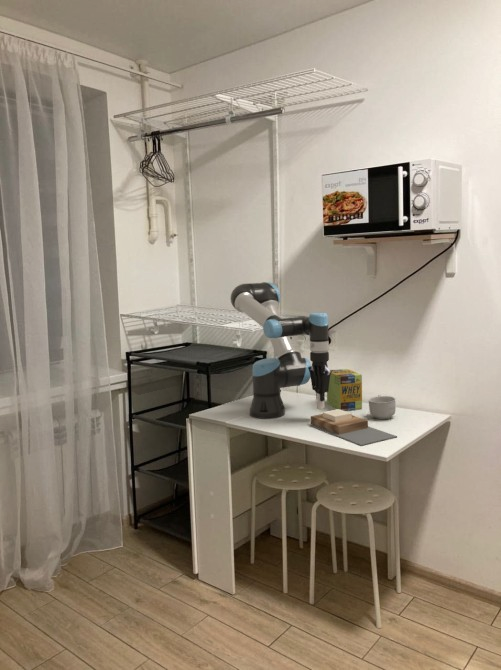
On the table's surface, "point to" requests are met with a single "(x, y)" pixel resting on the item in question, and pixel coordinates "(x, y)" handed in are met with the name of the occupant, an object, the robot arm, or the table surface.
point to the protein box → (345, 390)
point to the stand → (340, 424)
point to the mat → (361, 435)
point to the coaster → (337, 415)
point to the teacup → (382, 406)
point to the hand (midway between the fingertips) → (320, 408)
